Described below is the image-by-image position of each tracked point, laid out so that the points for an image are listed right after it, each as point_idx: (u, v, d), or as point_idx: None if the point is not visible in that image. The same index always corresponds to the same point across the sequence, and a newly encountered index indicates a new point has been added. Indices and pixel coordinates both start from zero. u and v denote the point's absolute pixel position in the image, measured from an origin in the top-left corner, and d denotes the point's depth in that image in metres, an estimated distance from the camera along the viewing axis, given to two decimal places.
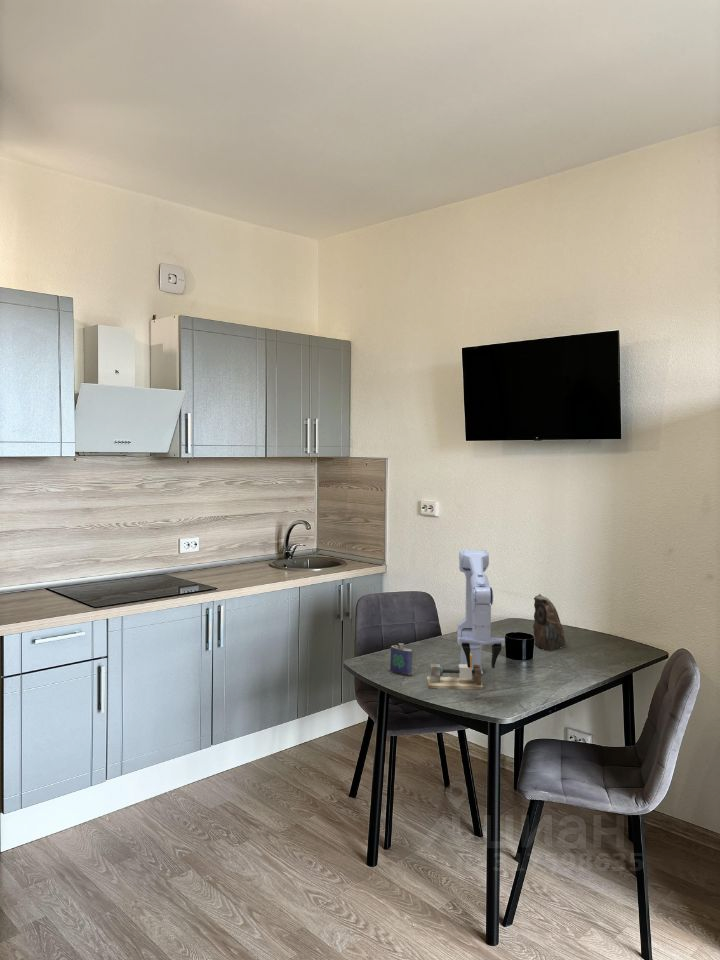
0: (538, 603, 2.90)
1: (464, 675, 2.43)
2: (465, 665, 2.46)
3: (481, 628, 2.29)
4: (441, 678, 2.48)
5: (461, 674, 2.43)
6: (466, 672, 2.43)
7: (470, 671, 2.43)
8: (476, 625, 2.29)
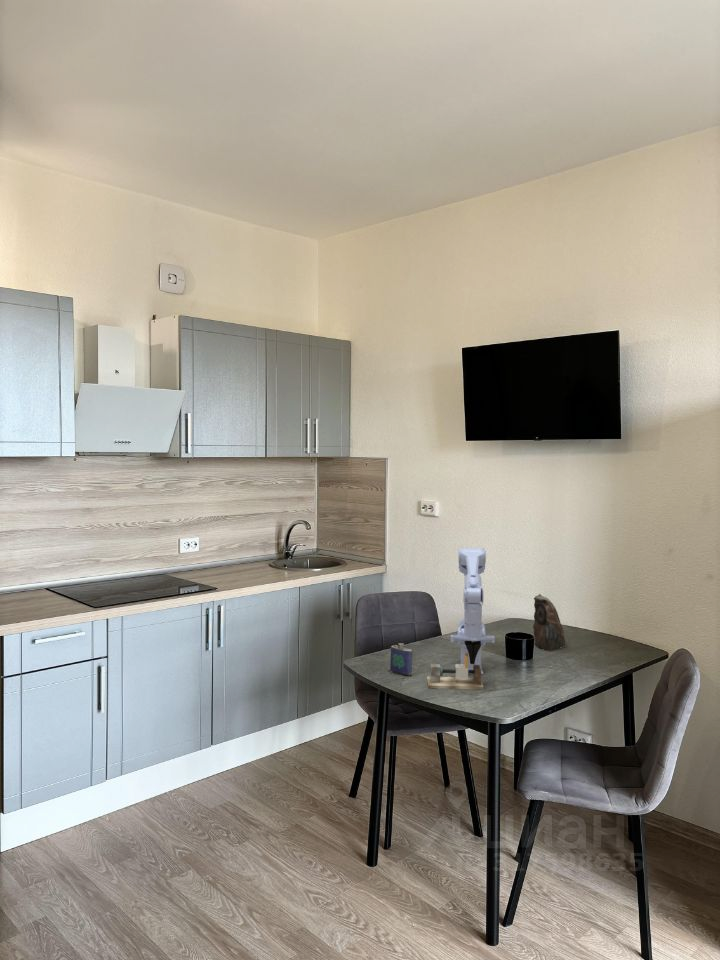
0: (538, 603, 2.90)
1: (460, 675, 2.43)
2: (461, 665, 2.46)
3: (472, 626, 2.41)
4: (441, 678, 2.48)
5: (457, 674, 2.43)
6: (462, 672, 2.43)
7: (466, 671, 2.43)
8: (467, 623, 2.42)
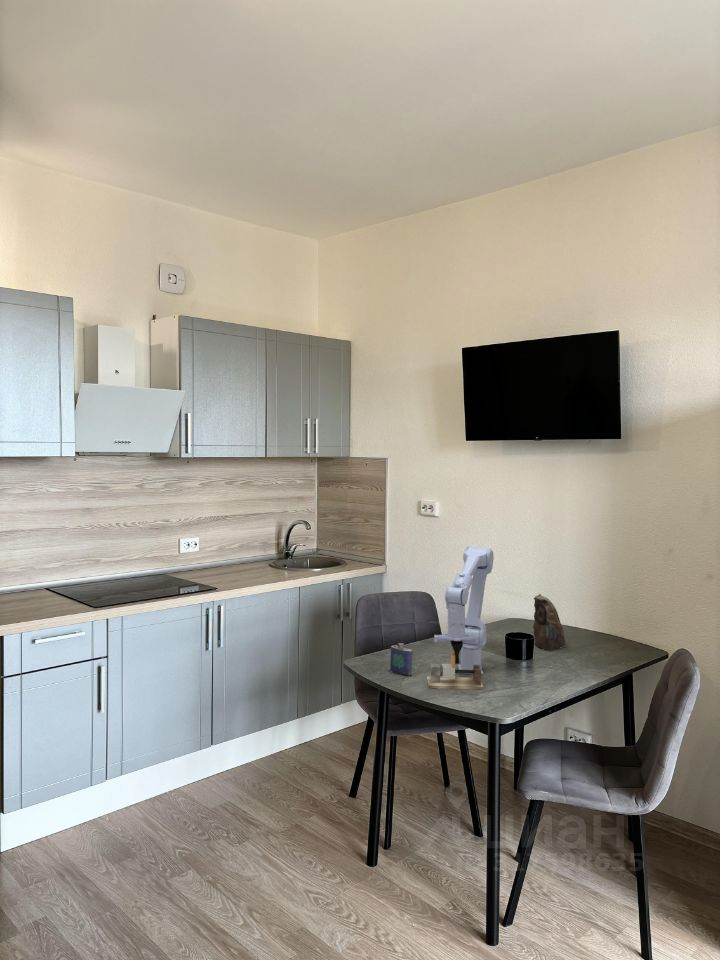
0: (538, 603, 2.90)
1: (447, 675, 2.43)
2: (448, 665, 2.46)
3: (456, 626, 2.42)
4: (441, 678, 2.48)
5: (444, 673, 2.43)
6: (449, 672, 2.43)
7: (453, 671, 2.43)
8: (448, 623, 2.43)
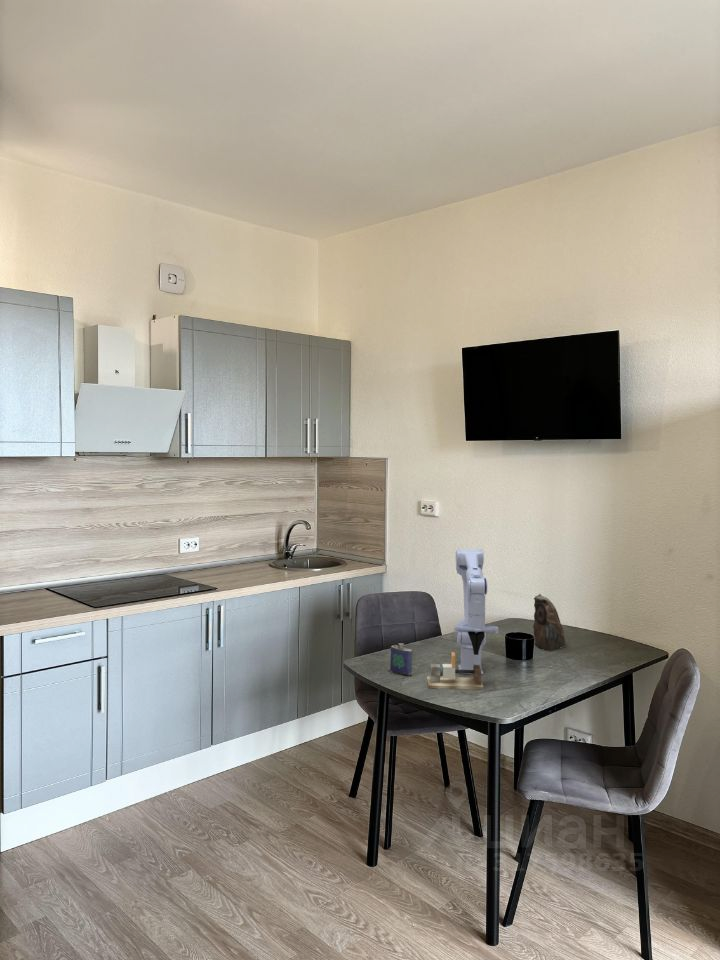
0: (538, 603, 2.90)
1: (447, 675, 2.43)
2: (448, 665, 2.46)
3: (476, 617, 2.42)
4: (441, 678, 2.48)
5: (444, 673, 2.43)
6: (449, 672, 2.43)
7: (453, 671, 2.43)
8: (471, 614, 2.43)
